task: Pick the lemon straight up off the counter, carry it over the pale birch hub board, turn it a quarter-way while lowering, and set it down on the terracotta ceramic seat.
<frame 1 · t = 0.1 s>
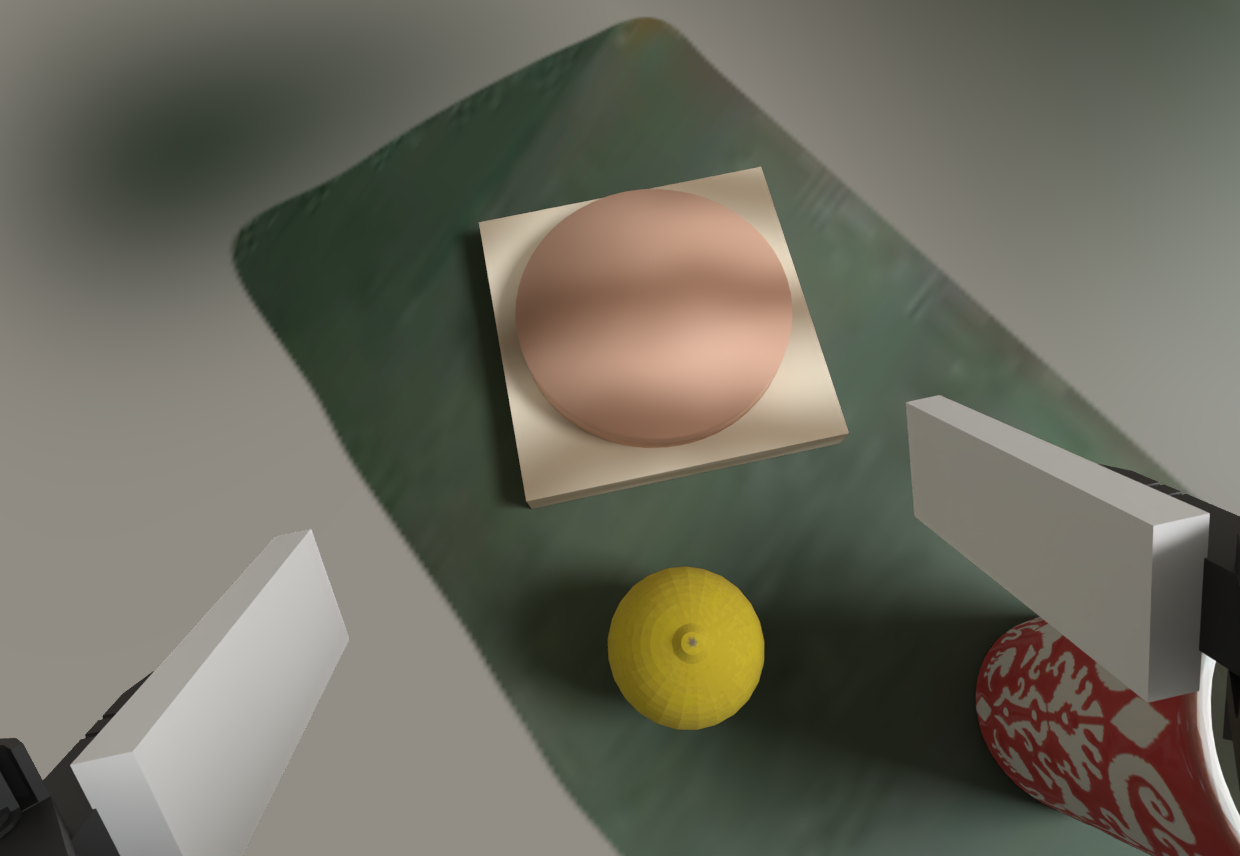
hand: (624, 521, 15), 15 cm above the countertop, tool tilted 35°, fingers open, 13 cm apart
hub: (652, 335, 33), on the countertop
mug: (1108, 715, 28), on the countertop
lemon: (679, 647, 29), on the countertop
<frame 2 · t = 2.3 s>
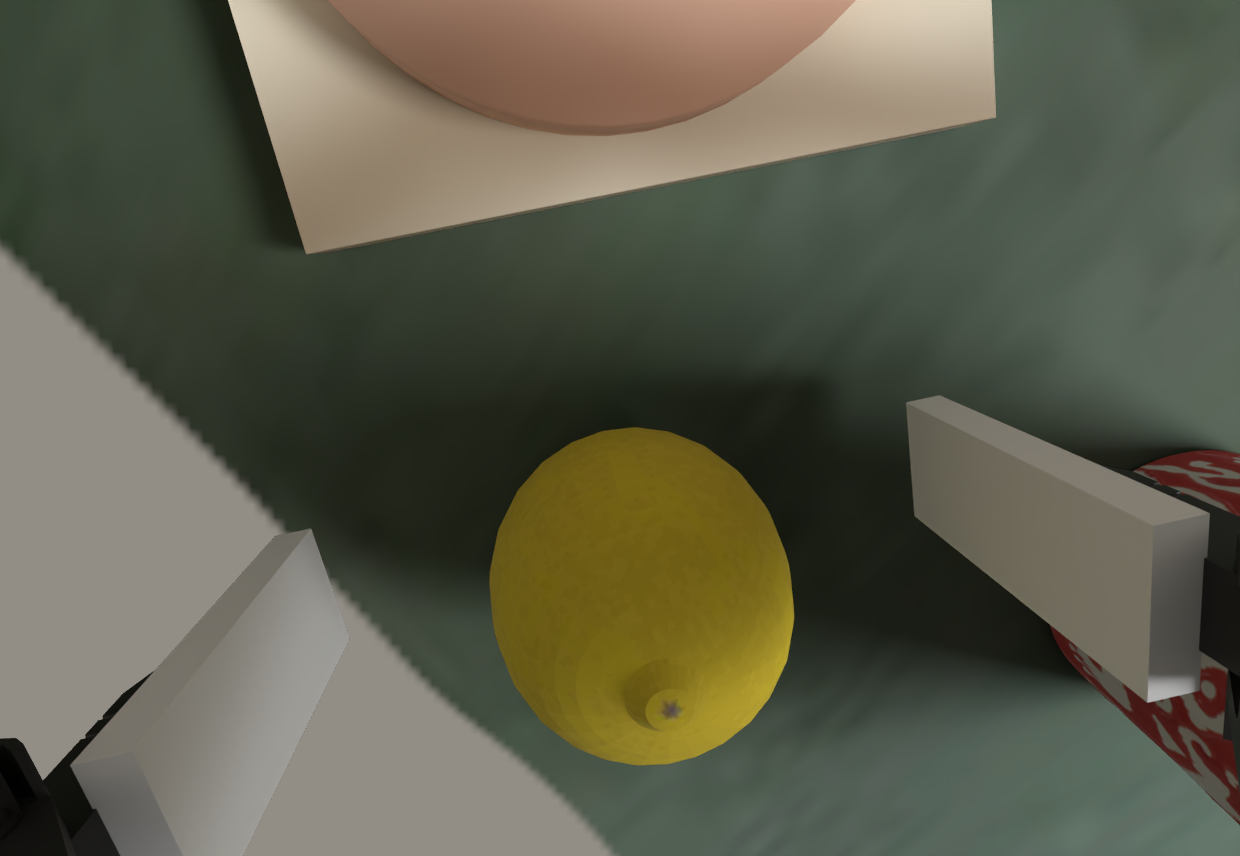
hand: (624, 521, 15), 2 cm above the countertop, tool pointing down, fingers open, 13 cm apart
mug: (1218, 574, 20), on the countertop
lemon: (617, 497, 17), on the countertop
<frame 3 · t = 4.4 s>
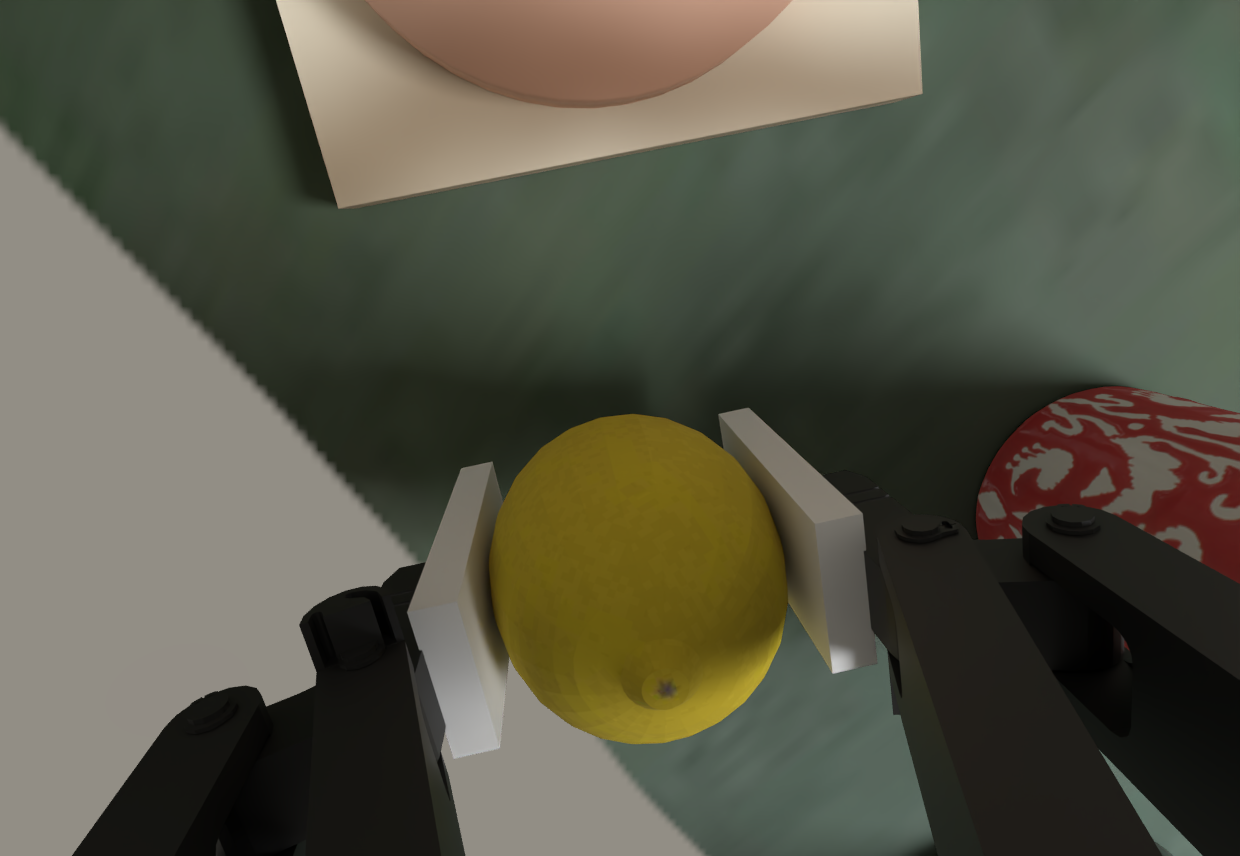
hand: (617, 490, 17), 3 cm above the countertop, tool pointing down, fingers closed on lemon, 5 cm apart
mug: (1126, 497, 23), on the countertop
lemon: (615, 484, 18), point 3 cm above the countertop, touching gripper
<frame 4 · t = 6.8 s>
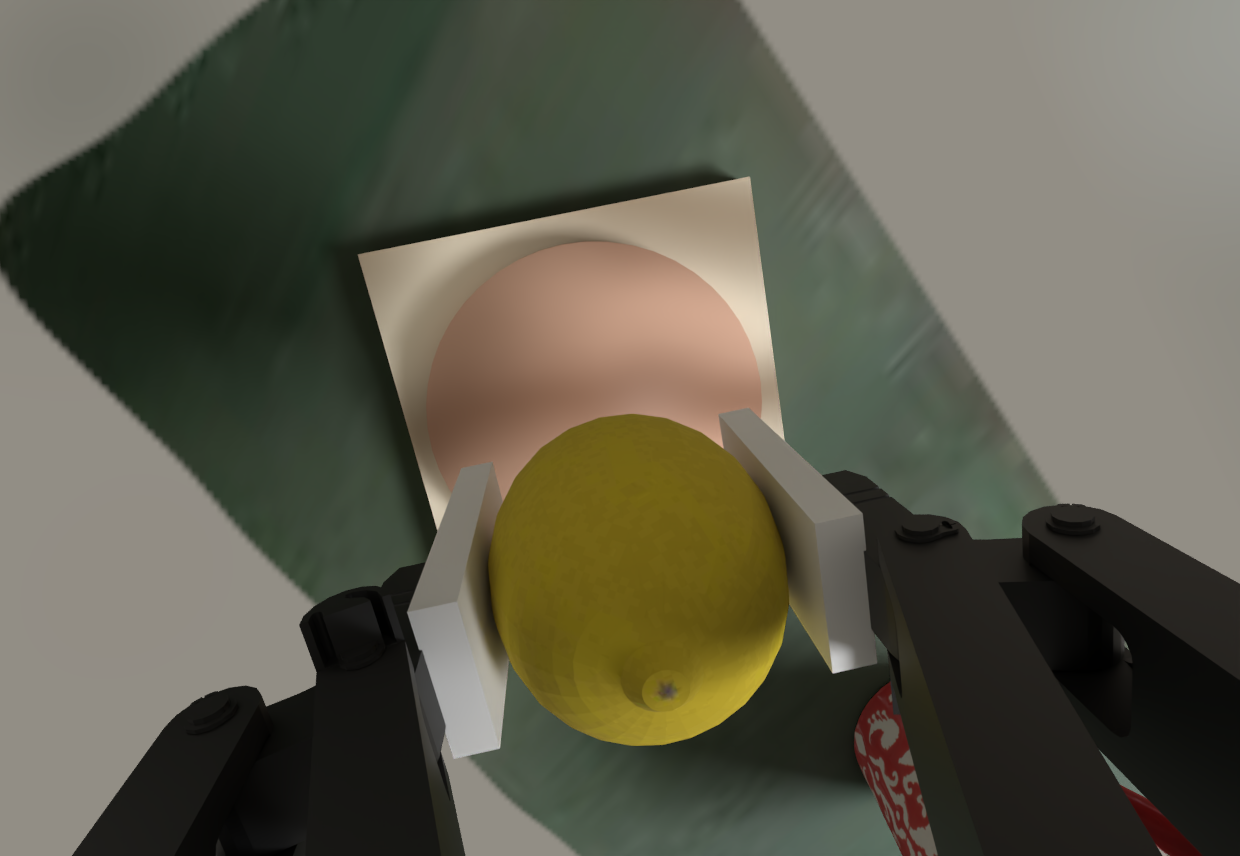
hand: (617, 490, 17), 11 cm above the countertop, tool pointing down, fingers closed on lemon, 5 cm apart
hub: (593, 396, 28), on the countertop
mug: (955, 728, 34), on the countertop
lemon: (615, 484, 18), point 11 cm above the countertop, touching gripper
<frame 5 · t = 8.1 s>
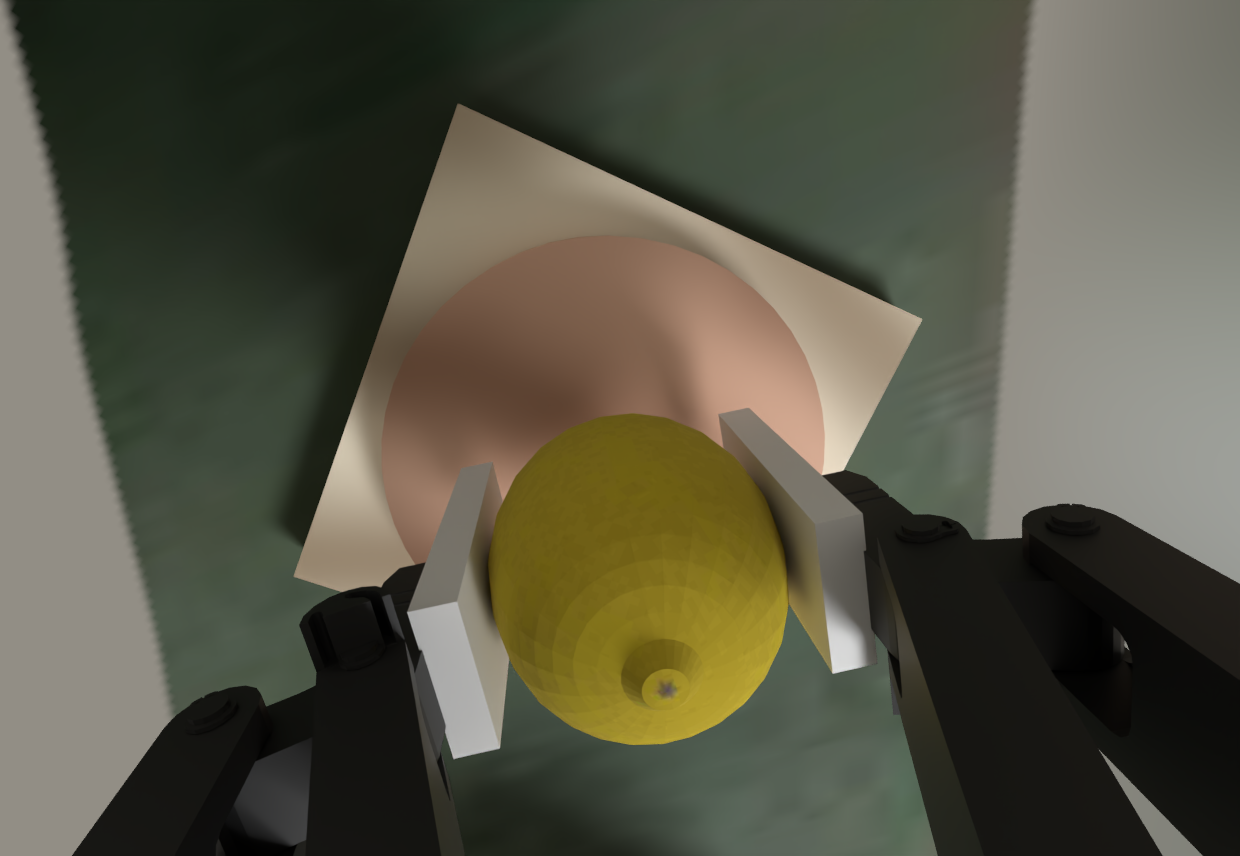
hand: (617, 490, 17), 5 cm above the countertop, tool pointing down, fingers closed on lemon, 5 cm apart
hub: (601, 434, 22), on the countertop
lemon: (615, 483, 18), point 5 cm above the countertop, touching gripper
when the fingers open (4 cm above the countertop, at t = 9.1 s): lemon stays where it is, resting on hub.
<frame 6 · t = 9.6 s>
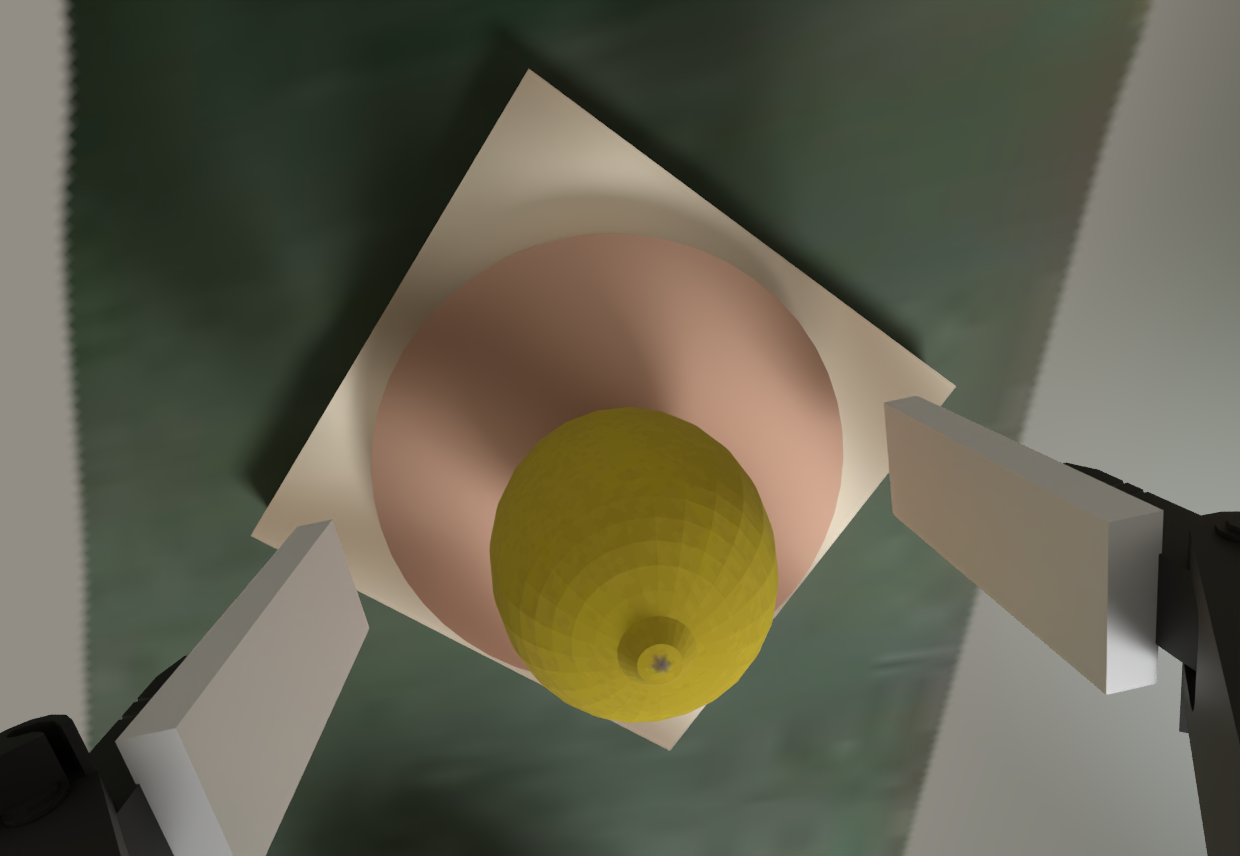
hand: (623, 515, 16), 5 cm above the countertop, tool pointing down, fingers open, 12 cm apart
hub: (605, 443, 21), on the countertop
lemon: (612, 478, 18), point 3 cm above the countertop, touching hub
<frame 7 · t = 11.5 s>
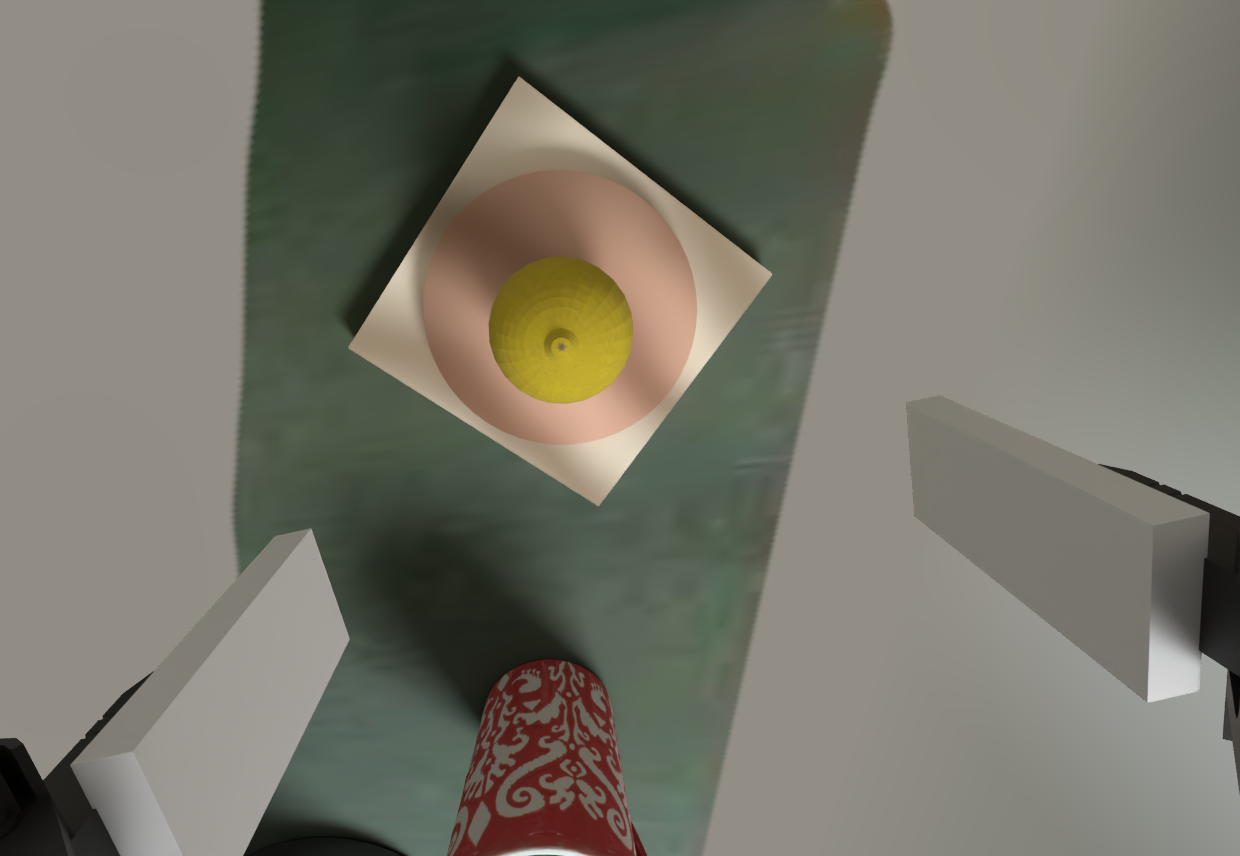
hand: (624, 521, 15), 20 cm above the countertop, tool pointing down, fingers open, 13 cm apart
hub: (562, 306, 34), on the countertop
mug: (566, 728, 41), on the countertop
lemon: (561, 316, 31), point 3 cm above the countertop, touching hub
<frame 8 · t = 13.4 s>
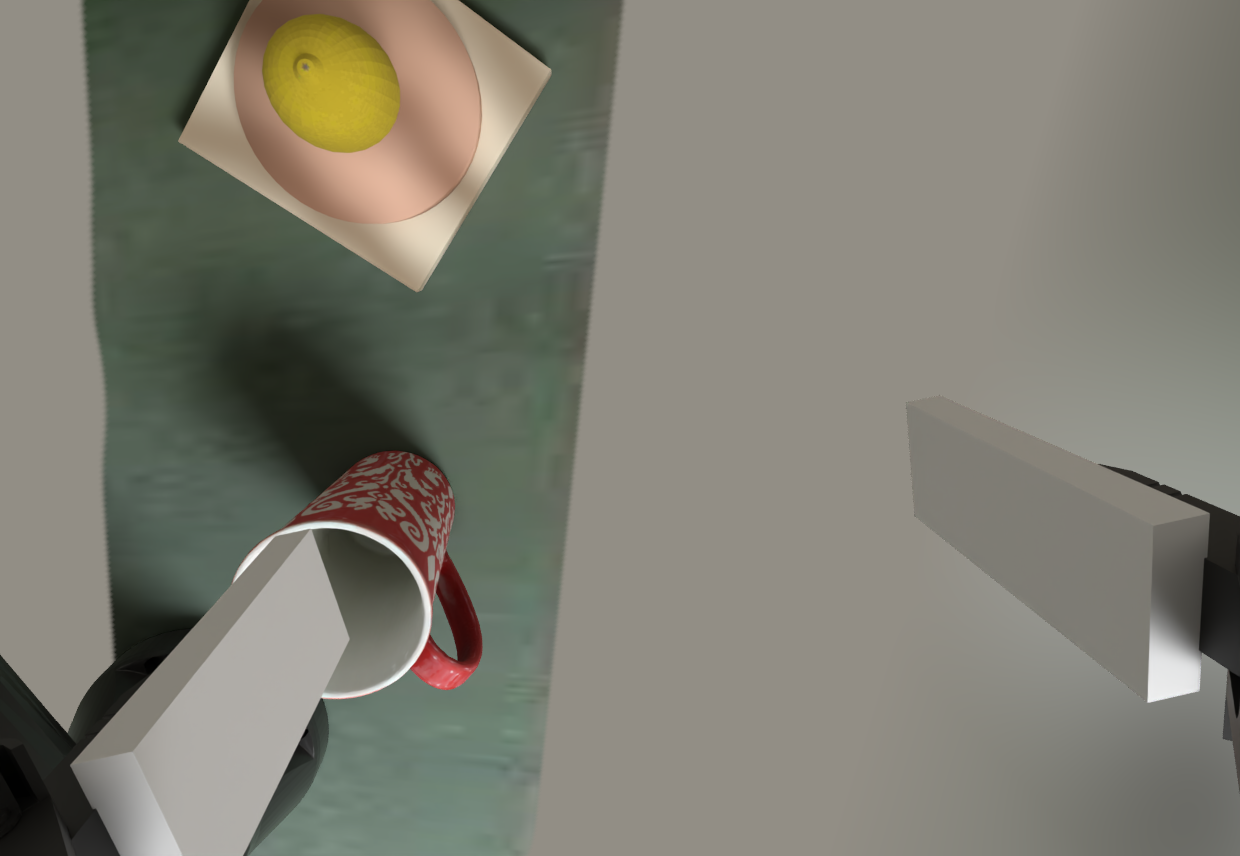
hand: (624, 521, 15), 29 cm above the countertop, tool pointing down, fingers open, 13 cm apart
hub: (373, 109, 38), on the countertop
mug: (416, 521, 45), on the countertop
lemon: (359, 102, 36), point 3 cm above the countertop, touching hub
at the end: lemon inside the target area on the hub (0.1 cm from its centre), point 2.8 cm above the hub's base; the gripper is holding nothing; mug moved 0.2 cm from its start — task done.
